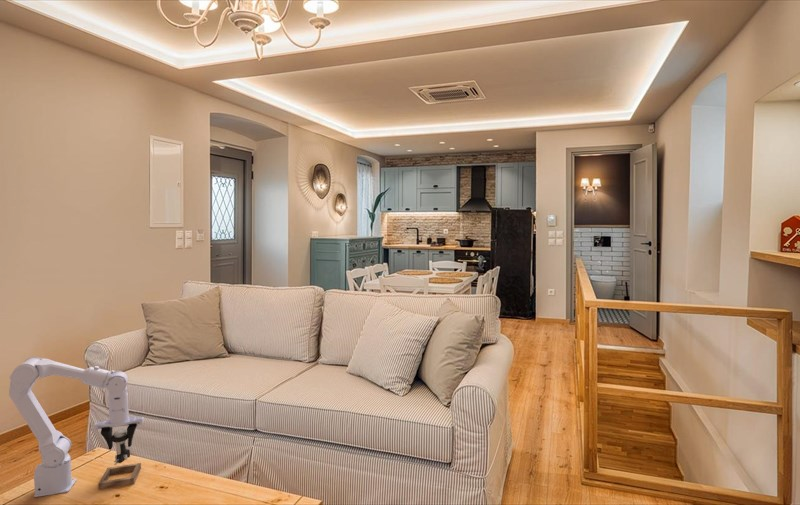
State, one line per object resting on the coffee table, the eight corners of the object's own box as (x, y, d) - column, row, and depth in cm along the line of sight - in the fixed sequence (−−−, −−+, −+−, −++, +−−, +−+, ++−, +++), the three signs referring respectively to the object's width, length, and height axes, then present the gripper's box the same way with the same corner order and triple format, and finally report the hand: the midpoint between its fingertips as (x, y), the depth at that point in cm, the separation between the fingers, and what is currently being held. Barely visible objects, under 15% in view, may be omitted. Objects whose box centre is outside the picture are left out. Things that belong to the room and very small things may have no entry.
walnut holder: (98, 489, 154) (98, 483, 154) (107, 473, 164) (107, 467, 164) (134, 483, 157) (134, 478, 157) (141, 468, 167) (140, 462, 167)
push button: (122, 466, 159) (119, 437, 158) (107, 466, 159) (104, 437, 158) (134, 455, 165) (132, 428, 164) (120, 455, 166) (117, 428, 165)
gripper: (144, 401, 167) (146, 438, 168) (97, 406, 162) (99, 444, 163) (140, 408, 160) (142, 447, 161) (91, 414, 156) (93, 454, 156)
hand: (120, 446), depth 162 cm, fingers closed on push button, 5 cm apart
